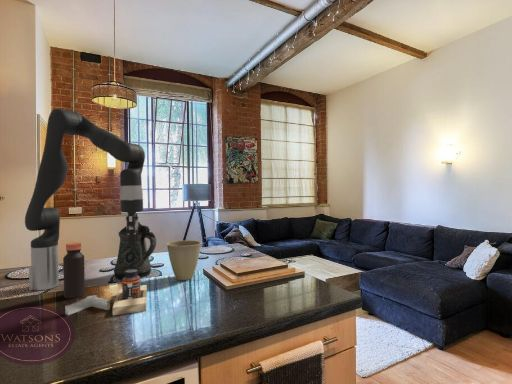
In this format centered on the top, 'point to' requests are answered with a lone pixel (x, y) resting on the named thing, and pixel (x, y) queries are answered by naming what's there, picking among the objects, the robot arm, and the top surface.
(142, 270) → the beer stein
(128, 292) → the supplement bottle
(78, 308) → the aluminium v block
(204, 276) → the top surface
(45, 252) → the robot arm
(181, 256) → the plant pot
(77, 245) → the vinegar
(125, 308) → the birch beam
